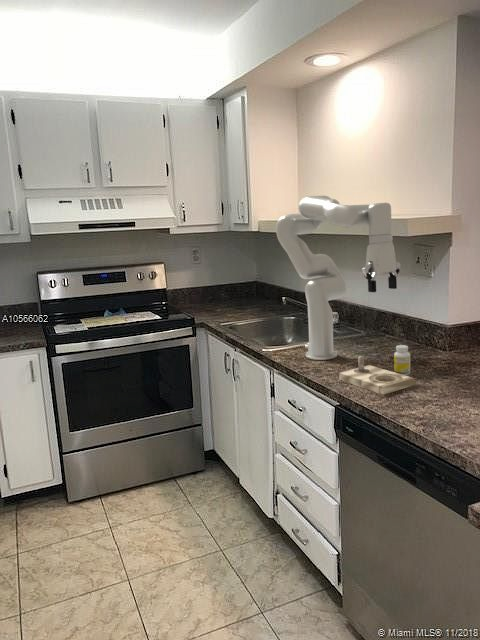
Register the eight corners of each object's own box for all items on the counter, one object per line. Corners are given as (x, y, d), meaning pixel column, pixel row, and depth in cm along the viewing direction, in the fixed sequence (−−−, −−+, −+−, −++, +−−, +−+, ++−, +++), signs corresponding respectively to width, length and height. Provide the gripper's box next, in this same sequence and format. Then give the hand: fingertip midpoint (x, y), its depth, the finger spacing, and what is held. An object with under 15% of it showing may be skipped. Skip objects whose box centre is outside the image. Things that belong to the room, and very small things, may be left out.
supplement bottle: (397, 370, 185) (397, 343, 183) (412, 372, 181) (412, 345, 179) (391, 374, 181) (391, 347, 179) (406, 376, 177) (406, 349, 175)
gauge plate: (339, 379, 178) (338, 358, 176) (368, 371, 185) (368, 351, 184) (383, 394, 161) (383, 371, 160) (413, 385, 168) (413, 363, 167)
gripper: (390, 238, 183) (392, 286, 186) (353, 242, 175) (356, 292, 177) (407, 237, 177) (408, 287, 179) (370, 241, 168) (372, 294, 171)
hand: (382, 290), depth 178 cm, fingers open, 9 cm apart
